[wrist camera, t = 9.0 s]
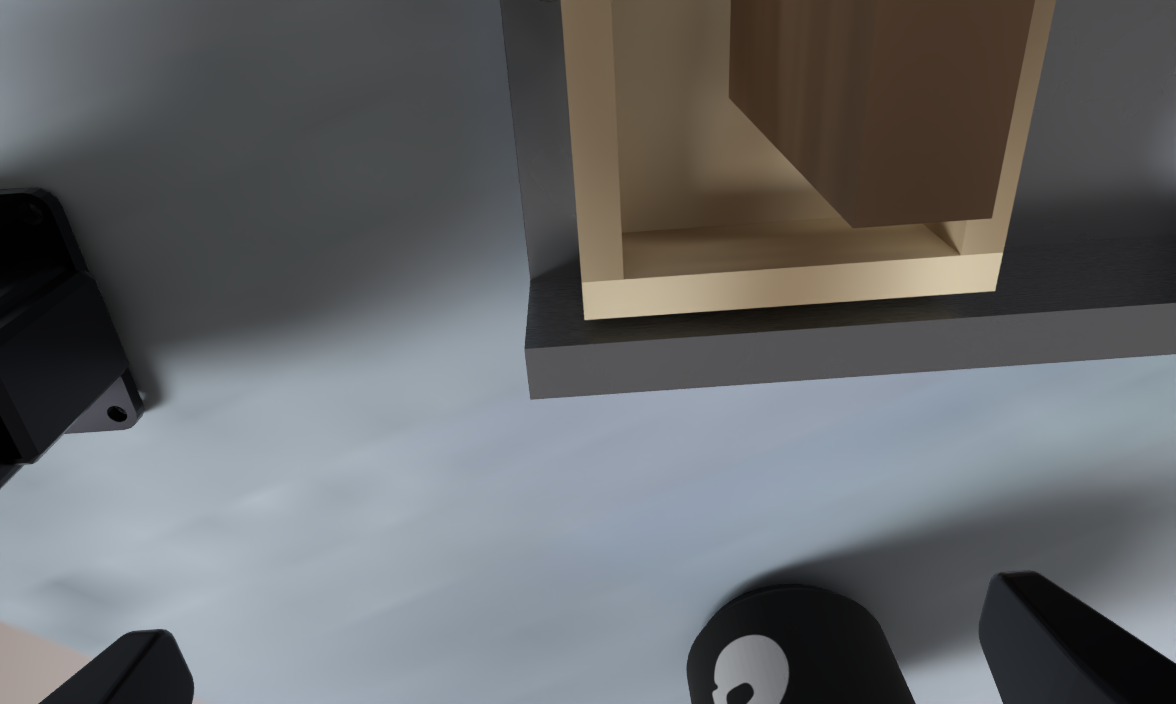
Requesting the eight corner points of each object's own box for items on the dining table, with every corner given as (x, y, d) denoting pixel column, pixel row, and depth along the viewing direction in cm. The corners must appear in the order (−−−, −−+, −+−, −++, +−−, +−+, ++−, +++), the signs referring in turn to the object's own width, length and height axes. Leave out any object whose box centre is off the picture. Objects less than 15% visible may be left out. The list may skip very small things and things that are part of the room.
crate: (580, 256, 18) (593, 486, 11) (540, -294, 13) (512, -569, 6) (925, 231, 18) (1177, 446, 11) (1012, -330, 13) (1591, -654, 6)
